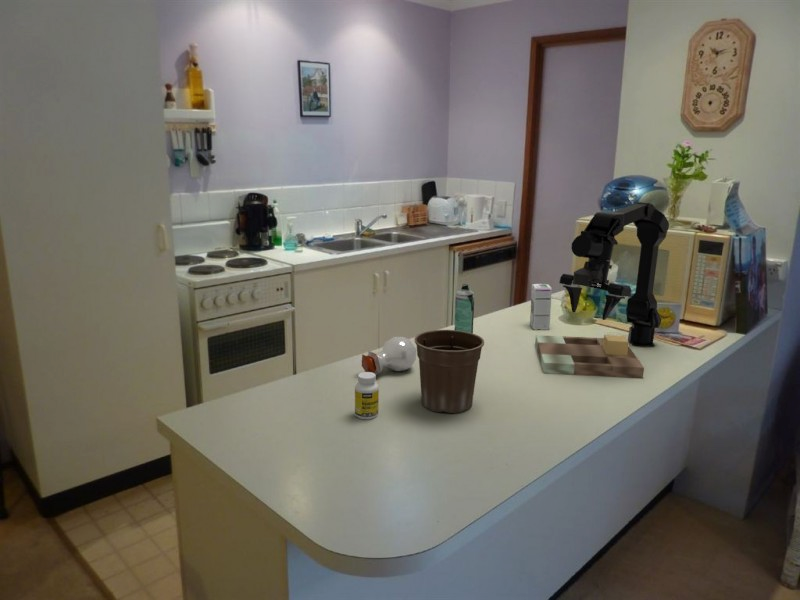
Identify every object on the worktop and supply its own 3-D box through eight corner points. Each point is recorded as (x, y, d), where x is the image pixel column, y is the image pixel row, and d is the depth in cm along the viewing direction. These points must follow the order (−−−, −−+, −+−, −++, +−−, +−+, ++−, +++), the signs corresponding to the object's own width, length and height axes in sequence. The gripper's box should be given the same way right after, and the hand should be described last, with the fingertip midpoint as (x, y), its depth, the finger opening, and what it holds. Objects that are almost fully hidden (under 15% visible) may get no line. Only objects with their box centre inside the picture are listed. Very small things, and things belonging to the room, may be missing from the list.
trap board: (622, 348, 188) (623, 339, 187) (642, 378, 165) (644, 367, 164) (535, 344, 191) (535, 335, 190) (543, 373, 168) (544, 362, 167)
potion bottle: (418, 371, 172) (372, 389, 164) (400, 345, 176) (355, 360, 169) (427, 352, 165) (380, 369, 157) (409, 325, 169) (362, 340, 162)
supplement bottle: (360, 422, 138) (360, 381, 136) (351, 412, 143) (350, 372, 140) (382, 417, 141) (382, 376, 138) (372, 408, 145) (372, 368, 143)
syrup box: (549, 330, 205) (553, 287, 201) (532, 329, 205) (534, 287, 201) (546, 325, 210) (549, 283, 207) (528, 324, 211) (531, 283, 207)
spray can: (475, 348, 186) (478, 284, 181) (467, 353, 182) (469, 287, 177) (458, 345, 189) (461, 281, 184) (450, 350, 185) (452, 285, 180)
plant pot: (444, 384, 160) (446, 324, 155) (495, 403, 148) (498, 339, 144) (399, 402, 149) (400, 338, 144) (450, 424, 137) (452, 356, 133)
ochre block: (622, 348, 179) (624, 335, 178) (627, 355, 173) (628, 341, 172) (602, 347, 179) (604, 334, 178) (606, 354, 174) (608, 340, 173)
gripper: (553, 252, 168) (543, 308, 170) (617, 263, 155) (605, 324, 157) (575, 255, 176) (564, 308, 178) (637, 265, 163) (625, 323, 165)
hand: (588, 315), depth 169 cm, fingers open, 9 cm apart
